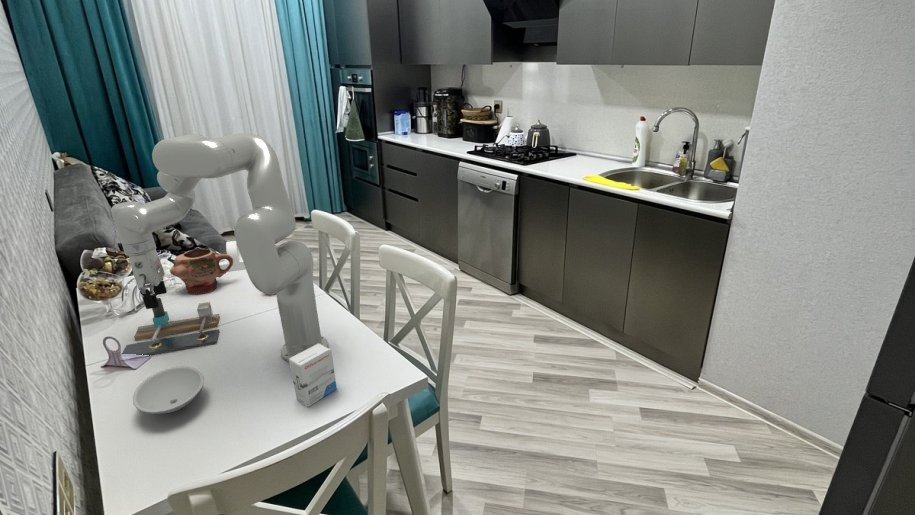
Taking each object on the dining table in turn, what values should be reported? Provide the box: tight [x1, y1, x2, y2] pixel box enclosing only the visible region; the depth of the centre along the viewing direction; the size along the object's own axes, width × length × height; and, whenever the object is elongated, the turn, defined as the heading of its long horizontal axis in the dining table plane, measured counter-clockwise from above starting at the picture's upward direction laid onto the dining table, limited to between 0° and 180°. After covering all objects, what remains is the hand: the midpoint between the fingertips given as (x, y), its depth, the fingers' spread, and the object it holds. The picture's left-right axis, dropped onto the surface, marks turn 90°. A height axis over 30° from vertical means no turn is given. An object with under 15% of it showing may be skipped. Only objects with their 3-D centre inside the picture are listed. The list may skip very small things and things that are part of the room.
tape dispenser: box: [219, 240, 247, 273], centre depth 186 cm, size 10×18×11 cm, turn 111°
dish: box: [132, 365, 205, 415], centre depth 109 cm, size 18×14×5 cm
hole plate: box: [121, 328, 221, 357], centre depth 134 cm, size 7×24×1 cm, turn 109°
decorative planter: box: [169, 248, 233, 295], centre depth 167 cm, size 20×12×14 cm, turn 120°
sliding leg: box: [151, 297, 170, 344], centre depth 136 cm, size 12×3×9 cm, turn 19°
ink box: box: [288, 343, 338, 408], centre depth 110 cm, size 9×5×12 cm, turn 141°
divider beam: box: [133, 301, 221, 342], centre depth 138 cm, size 13×22×6 cm, turn 109°
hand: (157, 300), depth 138 cm, fingers open, 9 cm apart
